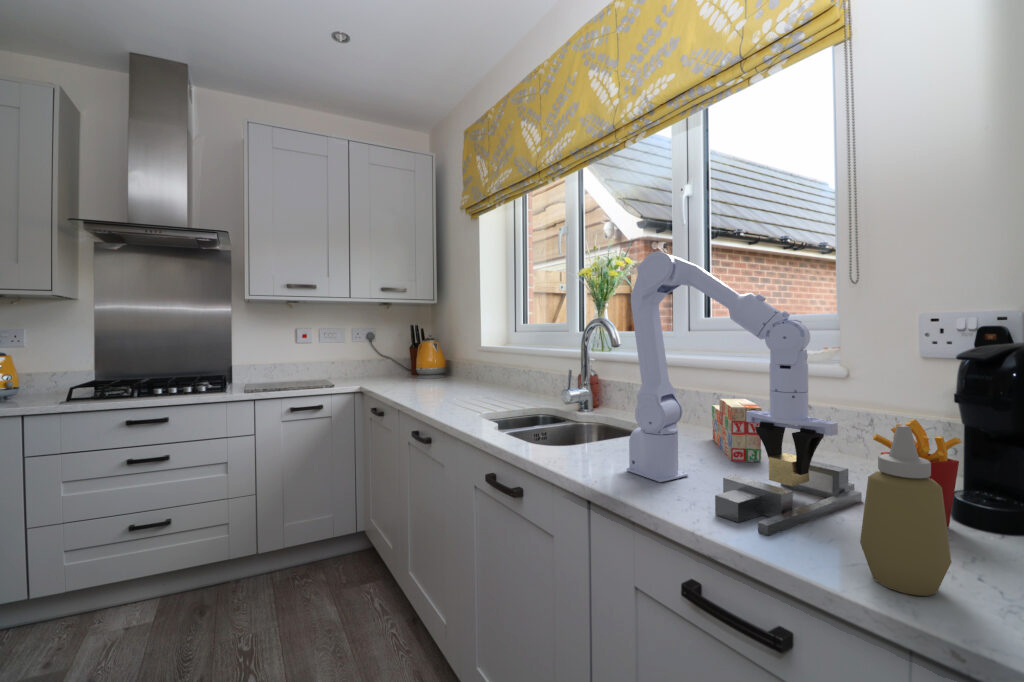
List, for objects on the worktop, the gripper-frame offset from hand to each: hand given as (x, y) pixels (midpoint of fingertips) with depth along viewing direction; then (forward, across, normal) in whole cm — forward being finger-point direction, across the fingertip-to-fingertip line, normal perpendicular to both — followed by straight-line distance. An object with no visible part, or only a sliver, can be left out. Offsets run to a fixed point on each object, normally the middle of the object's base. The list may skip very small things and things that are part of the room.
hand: (788, 470), depth 82 cm
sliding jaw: (+5, 0, +12) cm, 13 cm away
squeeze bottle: (+5, -22, +16) cm, 28 cm away
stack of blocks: (+5, +26, -22) cm, 35 cm away
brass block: (+2, 0, 0) cm, 2 cm away
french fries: (+5, -14, -6) cm, 17 cm away
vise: (+5, -1, +3) cm, 6 cm away
